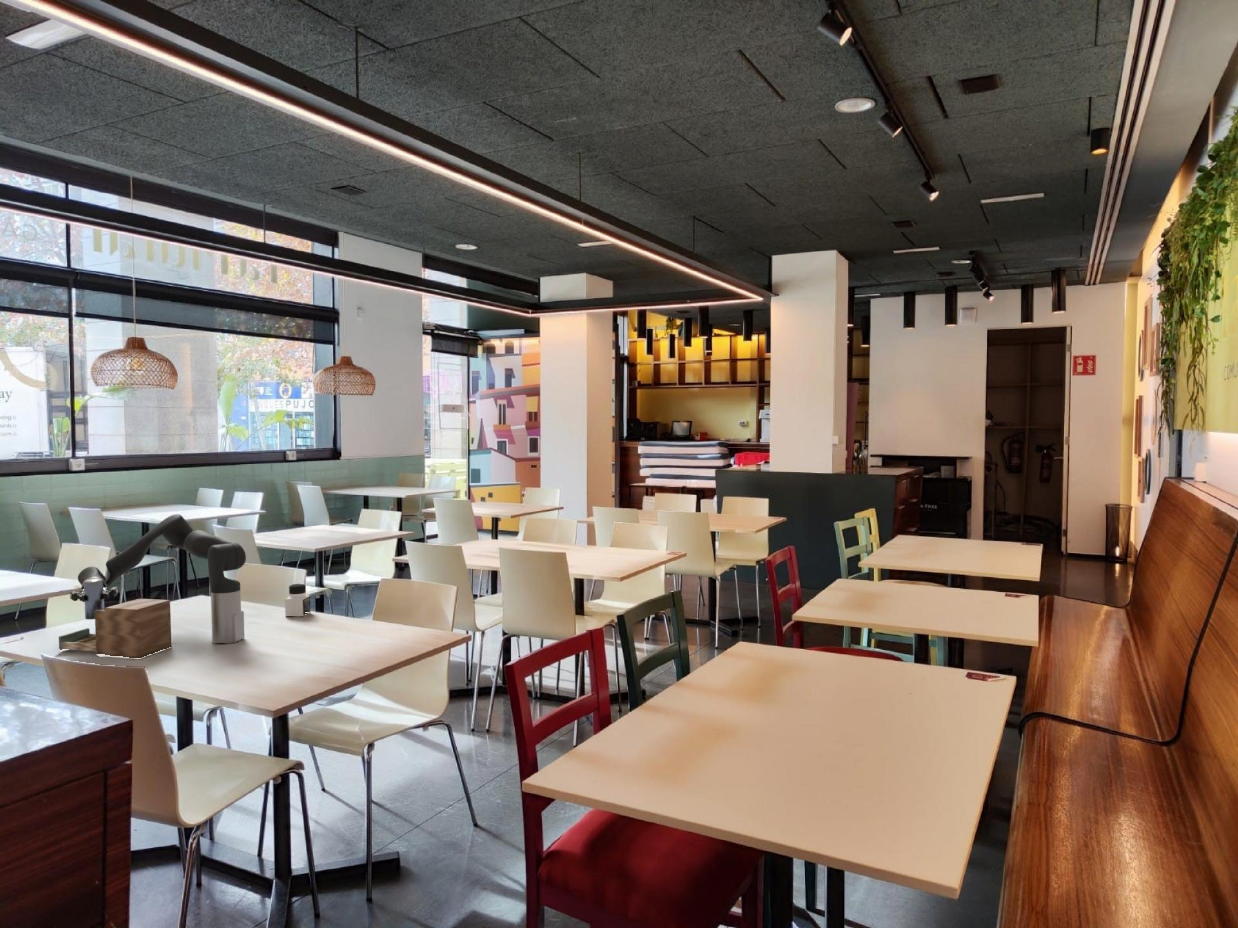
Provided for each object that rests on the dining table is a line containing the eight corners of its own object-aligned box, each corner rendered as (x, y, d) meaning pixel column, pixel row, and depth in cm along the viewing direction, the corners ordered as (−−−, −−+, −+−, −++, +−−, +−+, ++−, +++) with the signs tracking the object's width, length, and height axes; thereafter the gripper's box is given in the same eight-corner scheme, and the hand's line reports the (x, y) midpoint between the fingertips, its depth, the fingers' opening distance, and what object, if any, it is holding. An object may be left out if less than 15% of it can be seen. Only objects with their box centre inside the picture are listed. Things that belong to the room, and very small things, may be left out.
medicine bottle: (303, 617, 322) (302, 586, 322) (285, 617, 322) (284, 586, 322) (310, 612, 329) (310, 582, 329) (292, 612, 329) (291, 582, 329)
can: (102, 614, 281) (101, 578, 281) (106, 617, 277) (104, 580, 277) (83, 617, 278) (82, 580, 277) (87, 620, 274) (85, 582, 273)
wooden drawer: (129, 645, 282) (128, 630, 281) (102, 654, 271) (101, 639, 271) (87, 642, 285) (86, 628, 285) (59, 651, 275) (58, 636, 274)
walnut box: (171, 647, 280) (170, 600, 279) (138, 659, 266) (136, 609, 265) (130, 645, 283) (129, 598, 282) (96, 656, 270) (94, 607, 269)
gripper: (68, 580, 285) (67, 588, 271) (117, 575, 293) (119, 583, 278) (69, 602, 286) (68, 611, 271) (118, 597, 293) (120, 606, 279)
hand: (94, 597), depth 275 cm, fingers closed on can, 5 cm apart
